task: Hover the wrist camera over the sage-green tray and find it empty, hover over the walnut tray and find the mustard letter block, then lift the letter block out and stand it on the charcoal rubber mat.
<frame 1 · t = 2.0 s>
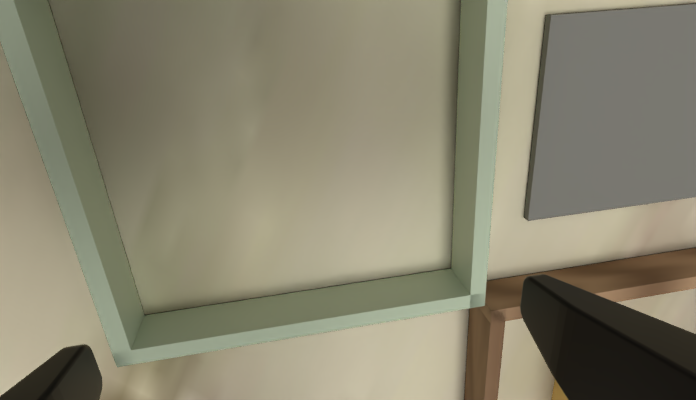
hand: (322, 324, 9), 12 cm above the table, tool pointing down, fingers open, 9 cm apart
rubber mat: (626, 115, 22), on the table
walnut tray: (590, 368, 29), on the table
sage tray: (287, 153, 20), on the table
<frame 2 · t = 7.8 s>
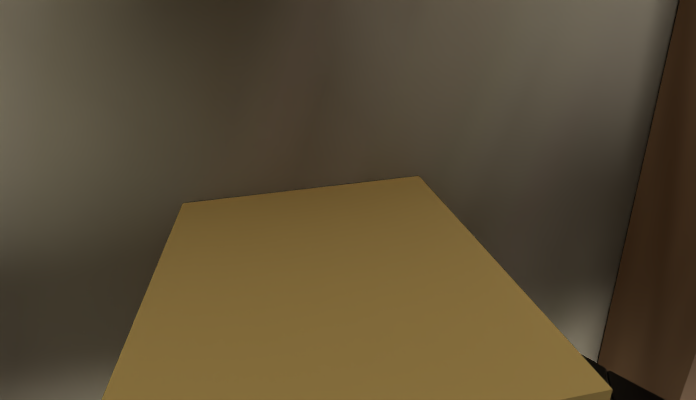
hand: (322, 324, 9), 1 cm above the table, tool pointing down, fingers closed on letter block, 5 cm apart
letter block: (315, 287, 10), resting in walnut tray, touching gripper
walnut tray: (316, 288, 10), on the table
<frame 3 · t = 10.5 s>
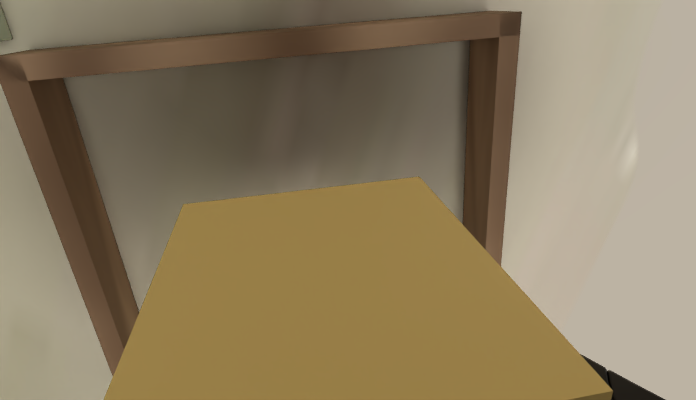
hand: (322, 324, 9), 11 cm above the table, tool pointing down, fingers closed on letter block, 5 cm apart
letter block: (315, 288, 10), point 10 cm above the table, touching gripper
walnut tray: (299, 221, 21), on the table
when the fingers open (3 cm above the table, at t = 13.4 s): letter block drops 1 cm, resting on rubber mat.
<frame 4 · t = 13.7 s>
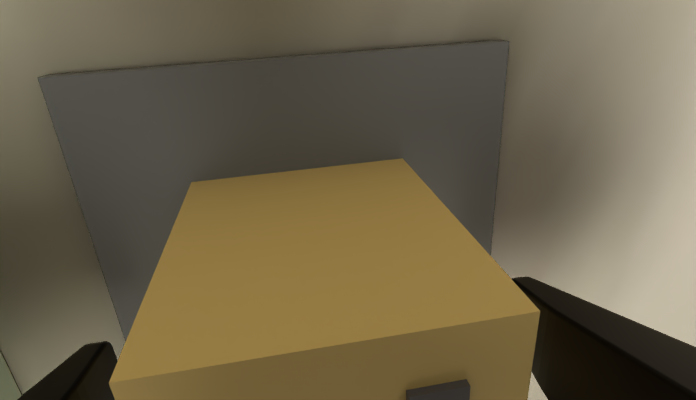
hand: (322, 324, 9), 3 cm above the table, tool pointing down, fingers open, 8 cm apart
rubber mat: (309, 251, 12), on the table
letter block: (310, 260, 12), resting on rubber mat
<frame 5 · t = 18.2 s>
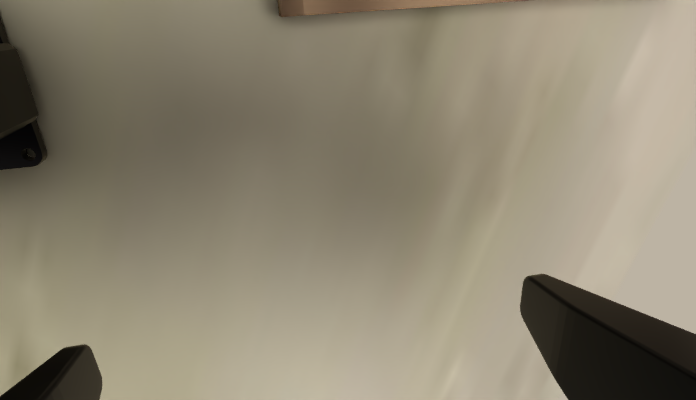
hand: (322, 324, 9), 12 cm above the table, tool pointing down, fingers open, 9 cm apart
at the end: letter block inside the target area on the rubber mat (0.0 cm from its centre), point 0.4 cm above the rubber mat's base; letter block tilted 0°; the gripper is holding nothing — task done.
